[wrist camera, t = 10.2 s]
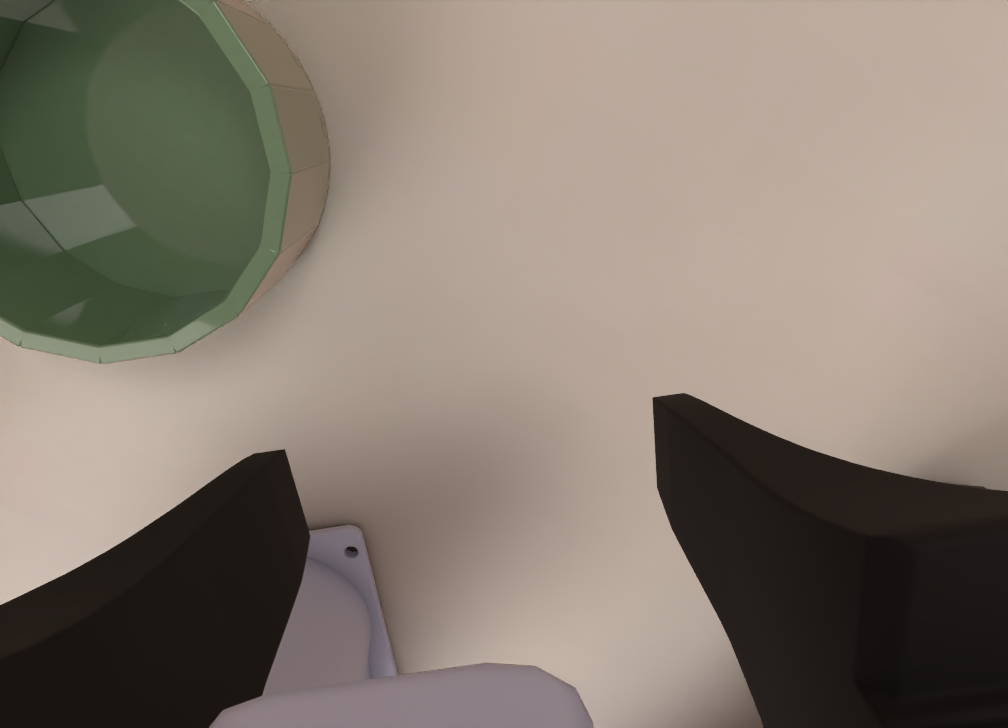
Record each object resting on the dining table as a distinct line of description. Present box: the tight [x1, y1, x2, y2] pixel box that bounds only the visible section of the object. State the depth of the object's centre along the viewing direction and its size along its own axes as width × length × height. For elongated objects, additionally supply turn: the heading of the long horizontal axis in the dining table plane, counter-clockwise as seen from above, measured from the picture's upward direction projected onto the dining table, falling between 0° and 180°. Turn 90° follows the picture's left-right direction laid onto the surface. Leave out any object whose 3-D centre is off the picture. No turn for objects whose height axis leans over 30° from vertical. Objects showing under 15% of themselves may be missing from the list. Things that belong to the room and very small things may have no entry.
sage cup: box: [0, 0, 330, 364], centre depth 17 cm, size 10×10×5 cm
